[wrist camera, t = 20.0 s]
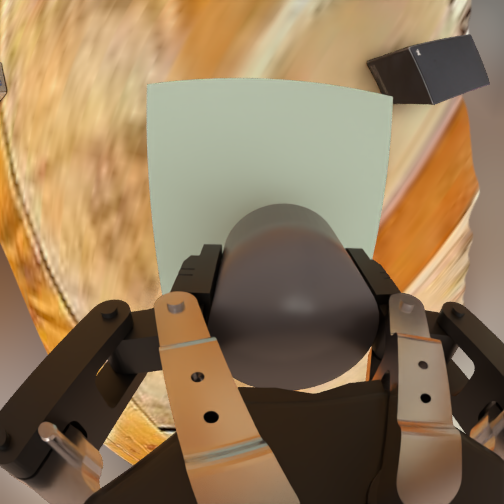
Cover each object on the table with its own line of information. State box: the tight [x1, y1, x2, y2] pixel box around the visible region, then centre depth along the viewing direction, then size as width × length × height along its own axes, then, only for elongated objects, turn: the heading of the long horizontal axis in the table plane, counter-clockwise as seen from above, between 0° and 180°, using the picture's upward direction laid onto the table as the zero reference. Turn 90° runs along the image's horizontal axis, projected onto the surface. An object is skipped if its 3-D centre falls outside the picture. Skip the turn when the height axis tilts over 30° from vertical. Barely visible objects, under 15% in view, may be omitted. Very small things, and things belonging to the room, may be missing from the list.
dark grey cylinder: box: [207, 203, 379, 390], centre depth 10 cm, size 5×5×5 cm
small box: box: [367, 35, 490, 105], centre depth 21 cm, size 11×6×10 cm, turn 119°
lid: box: [147, 78, 393, 295], centre depth 21 cm, size 18×18×1 cm
